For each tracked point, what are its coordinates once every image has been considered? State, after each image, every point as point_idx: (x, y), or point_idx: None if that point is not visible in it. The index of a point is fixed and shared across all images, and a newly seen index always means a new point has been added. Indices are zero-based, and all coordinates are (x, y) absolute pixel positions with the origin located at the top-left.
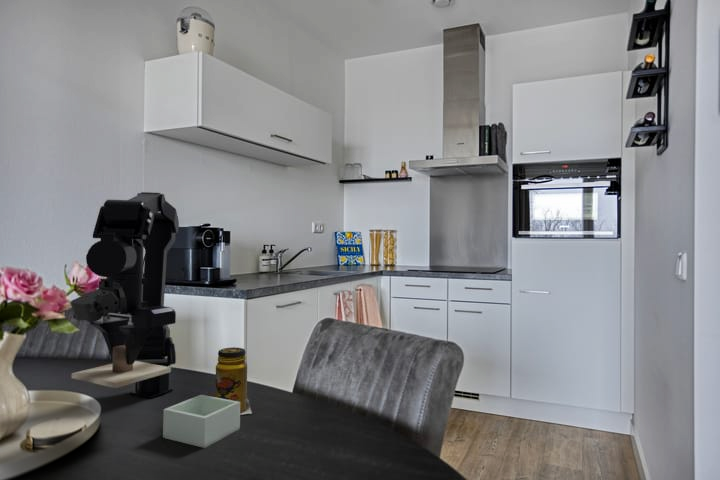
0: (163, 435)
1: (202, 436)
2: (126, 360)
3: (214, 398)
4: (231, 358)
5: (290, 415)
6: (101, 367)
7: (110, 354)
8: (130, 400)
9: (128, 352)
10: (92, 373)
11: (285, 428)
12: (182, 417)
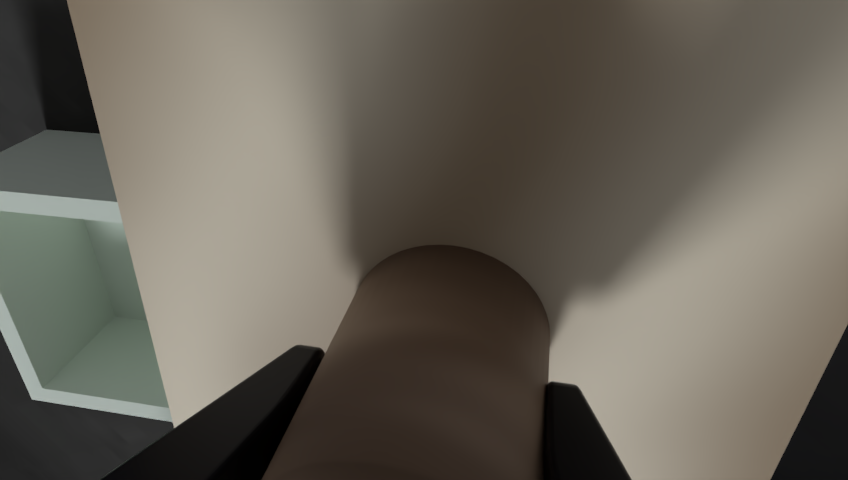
0: None
1: (23, 148)
2: (301, 371)
3: (155, 407)
4: None
5: (84, 455)
6: (769, 344)
7: (601, 447)
8: (813, 453)
9: (181, 434)
10: (669, 118)
11: (2, 366)
12: (86, 187)
